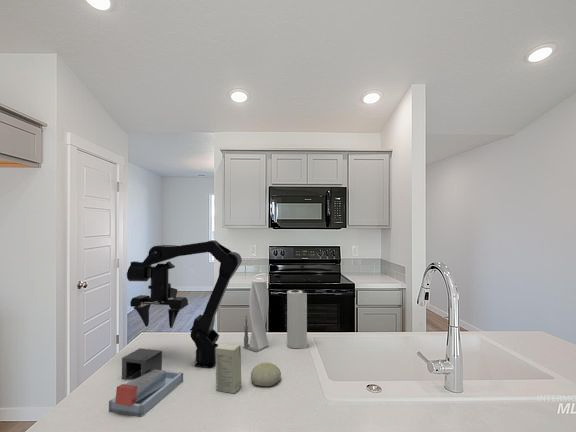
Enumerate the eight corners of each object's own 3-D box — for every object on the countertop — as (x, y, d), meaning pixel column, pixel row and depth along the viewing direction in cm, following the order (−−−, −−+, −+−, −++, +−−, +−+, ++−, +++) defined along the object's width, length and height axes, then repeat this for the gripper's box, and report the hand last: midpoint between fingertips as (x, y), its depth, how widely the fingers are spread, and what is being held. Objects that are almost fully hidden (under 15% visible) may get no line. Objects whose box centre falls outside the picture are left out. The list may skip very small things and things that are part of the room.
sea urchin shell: (289, 373, 99) (275, 360, 95) (276, 398, 95) (261, 386, 91) (268, 364, 106) (255, 351, 102) (255, 388, 101) (241, 376, 97)
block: (161, 370, 105) (162, 350, 105) (145, 382, 97) (145, 360, 98) (139, 367, 107) (139, 348, 107) (121, 379, 99) (122, 358, 100)
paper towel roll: (284, 344, 128) (284, 290, 128) (298, 342, 130) (298, 288, 131) (292, 351, 121) (292, 293, 122) (306, 348, 124) (306, 292, 124)
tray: (183, 381, 98) (183, 372, 98) (141, 416, 80) (141, 406, 80) (155, 377, 100) (155, 369, 100) (108, 411, 82) (108, 401, 82)
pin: (165, 384, 94) (167, 370, 95) (130, 406, 80) (132, 388, 80) (152, 383, 95) (153, 368, 96) (115, 403, 81) (116, 386, 81)
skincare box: (241, 386, 95) (242, 344, 95) (234, 394, 91) (234, 350, 91) (222, 383, 97) (222, 342, 97) (214, 390, 93) (214, 347, 93)
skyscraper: (257, 341, 131) (257, 272, 132) (273, 346, 126) (273, 274, 127) (242, 348, 124) (243, 274, 125) (258, 353, 119) (259, 276, 120)
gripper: (195, 278, 118) (195, 321, 118) (149, 276, 122) (148, 318, 121) (180, 284, 107) (179, 331, 107) (129, 282, 111) (128, 328, 110)
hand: (159, 327), depth 112 cm, fingers open, 9 cm apart
